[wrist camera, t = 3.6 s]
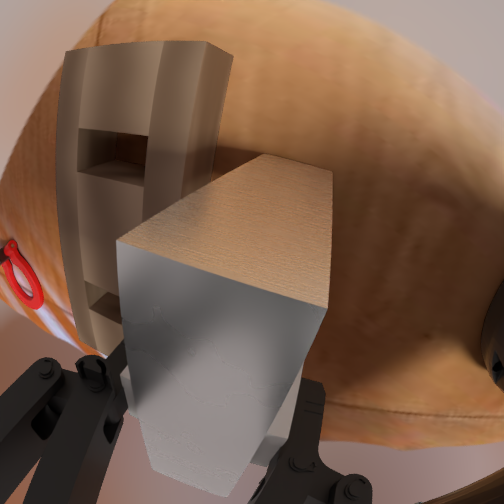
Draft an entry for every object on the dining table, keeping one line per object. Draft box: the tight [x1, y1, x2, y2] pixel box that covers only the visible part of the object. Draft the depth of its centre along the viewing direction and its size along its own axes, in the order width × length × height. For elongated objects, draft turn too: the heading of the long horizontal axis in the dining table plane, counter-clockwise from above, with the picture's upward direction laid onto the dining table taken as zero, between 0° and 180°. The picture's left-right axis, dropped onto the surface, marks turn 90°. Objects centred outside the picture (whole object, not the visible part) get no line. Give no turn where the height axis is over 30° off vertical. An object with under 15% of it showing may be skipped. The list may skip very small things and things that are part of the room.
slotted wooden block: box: [56, 41, 233, 356], centre depth 19 cm, size 10×24×4 cm, turn 169°
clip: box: [116, 154, 333, 498], centre depth 14 cm, size 4×13×13 cm, turn 169°
